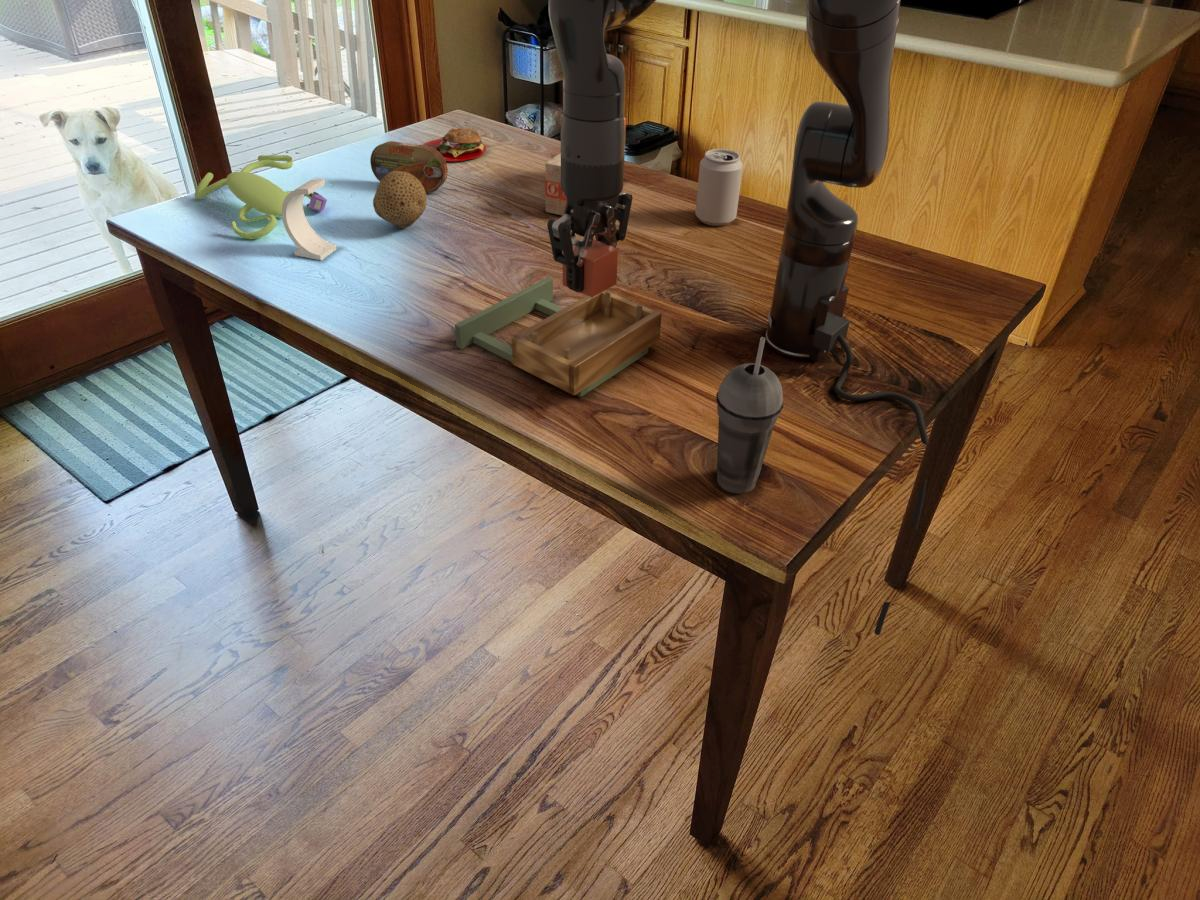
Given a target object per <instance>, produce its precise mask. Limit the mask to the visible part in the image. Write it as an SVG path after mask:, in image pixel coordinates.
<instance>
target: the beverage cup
mask: <svg viewBox="0 0 1200 900" xmlns="http://www.w3.org/2000/svg"><path fill="white" fill-rule="evenodd" d="M765 343H766V340H765V337H764V336H761V337H760V339H759V343H758V348H757V353H756V358H755V363H753V362H751V363H743V364H740V365H738V366H736V367H734V368H732V369H731V370H729V372H727V374H725V377H724V378H723V379H722V381H721V383H720V385H719V387H718V390H717V392H716V395H715V396H716V397H715V401H716V409H717V416H718V431H717V454H716V455H717V456H716V482H717V484H718V485H719V487H721V489H723V490H725V491H726V492H729V493H731V494H746V493H747V494H748V492H751V491H753V490H754V488H755V487H756V483H757V481H758V479H759V476H760V473H761V470H762V467H763V463H764V460H765V457H766V454H767V450H768V447H769V444H770V440H771V437H772V434H773V431H774V427H775V424H776V423H777V421H778V419H779V416H780V414H781V413H782V410H783V408H784V395H783V386H782V383H781V381H780V380H779V378H778V376H777V375H776V374H775V373H774V372H773V370H771V369H770V368H769V367H767V366H765V365H763V364H761V361H762V357H763V352H764V348H765Z"/></svg>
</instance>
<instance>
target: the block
mask: <svg viewBox="0 0 1200 900" xmlns="http://www.w3.org/2000/svg"><path fill="white" fill-rule="evenodd" d="M582 240H584V238H583V239H582ZM562 253H564V252H563V251H562ZM577 253H578V246H575V248H574V254H575V255H577ZM618 259H619V248H618V247H616V248H615V247H613V246H610V245H607V244H605V243H602V242H599V241H597V240H596V239H594V238H593V242H592V246H591V248H590V249H588V250H587V253H586V257H585V261H584V264H583V265H584V290H583V291H581V292H579V294H583V295H585V296H590V297H594V296H596V295H598V294H599V293H601V292H603V291H605V290H606V291H608V290H609V289H610V288H612V287H614V286H615V285H617V284H618V283H617V280H618ZM566 277H567V276H566V265H564V264H562V286H564V287H566V288H568V286H567V284H566Z"/></svg>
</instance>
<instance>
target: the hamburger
mask: <svg viewBox="0 0 1200 900" xmlns="http://www.w3.org/2000/svg"><path fill="white" fill-rule="evenodd" d="M422 145H427V146H431V147H433V148H435V149H436V150H438V151H439V152H440V153H441V154H442V156H443V157H444V159H445V161H446V162H461V161H467V160H468V161H469V160H473V159H477V158H478V157H481V156H482V155H484V154H485V153H486V152H487V146H486V145H485V144H484V142H482V137H481V136H480V134H479V133H478V131H476V130H473V129H471V128H466V127H465V128H464V127H463V128H462V127H461V128H454V127H453V128H451V129H449V130H448V131H447V132H446V133H445V134H444V136H442V137H440V138H437V139H432V140H429V141H426V142H425V143H423V144H422Z"/></svg>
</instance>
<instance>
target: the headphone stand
mask: <svg viewBox="0 0 1200 900" xmlns="http://www.w3.org/2000/svg"><path fill="white" fill-rule="evenodd" d="M325 185H326V181H325V178H313V179H311V180H308V181H307V182H305V183H304V184H302V185H300V186H299V187H297V188H295V189H294V190H291V191H292V192H290V193H289V194H288V195H287V196H286V197H285V199H284V201H283V204H282V216H281V220H282V223H283V227H284V229H285V231H286V233H287V235H288V237H289V238H290V240H291V241H292V242H293V243H294V245H295V246H296V247H297V248H295V249H294V255H295V256H297V257H302V258H307V259H312V260H317V261H322V260H324V259H325V258H327V257H328V256H329V255H331V254H332V253H334V252H335V251H336V250H338V249H337V244H336V243H333V242H330V241H327V240H326V239H324V238H322V237H321V236H320V235H319V234H318V233H317V232H316V231H315V230H314V229H313V227H312V225H310V223H309V221H308V220H307V217H306V215H305V211H304V197H305V196H304V195H305V194H310V193H313V192H316V191H317V190H318V189H320V188H321V187H323V186H325Z"/></svg>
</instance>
